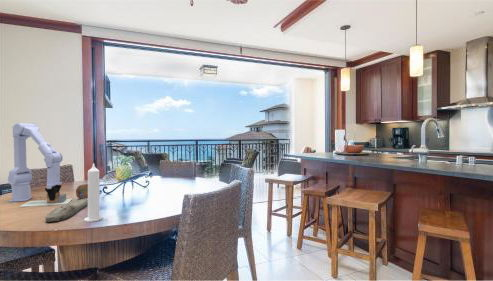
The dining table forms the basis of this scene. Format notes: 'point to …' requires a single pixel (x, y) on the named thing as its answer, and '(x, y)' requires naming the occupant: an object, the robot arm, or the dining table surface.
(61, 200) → the board
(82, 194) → the tin
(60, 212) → the long grey stone
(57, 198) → the block
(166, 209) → the dining table surface
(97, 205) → the candle
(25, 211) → the dining table surface
